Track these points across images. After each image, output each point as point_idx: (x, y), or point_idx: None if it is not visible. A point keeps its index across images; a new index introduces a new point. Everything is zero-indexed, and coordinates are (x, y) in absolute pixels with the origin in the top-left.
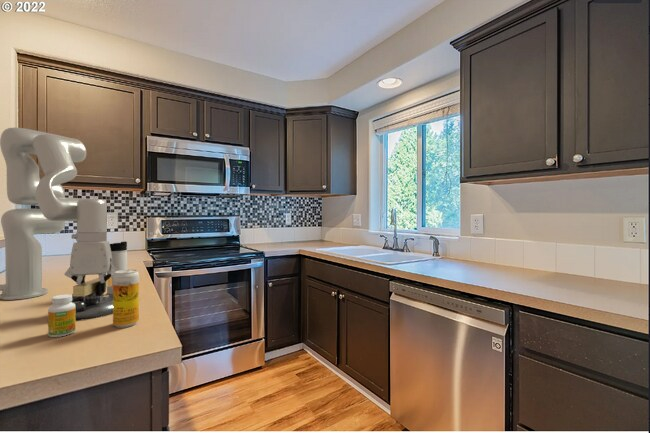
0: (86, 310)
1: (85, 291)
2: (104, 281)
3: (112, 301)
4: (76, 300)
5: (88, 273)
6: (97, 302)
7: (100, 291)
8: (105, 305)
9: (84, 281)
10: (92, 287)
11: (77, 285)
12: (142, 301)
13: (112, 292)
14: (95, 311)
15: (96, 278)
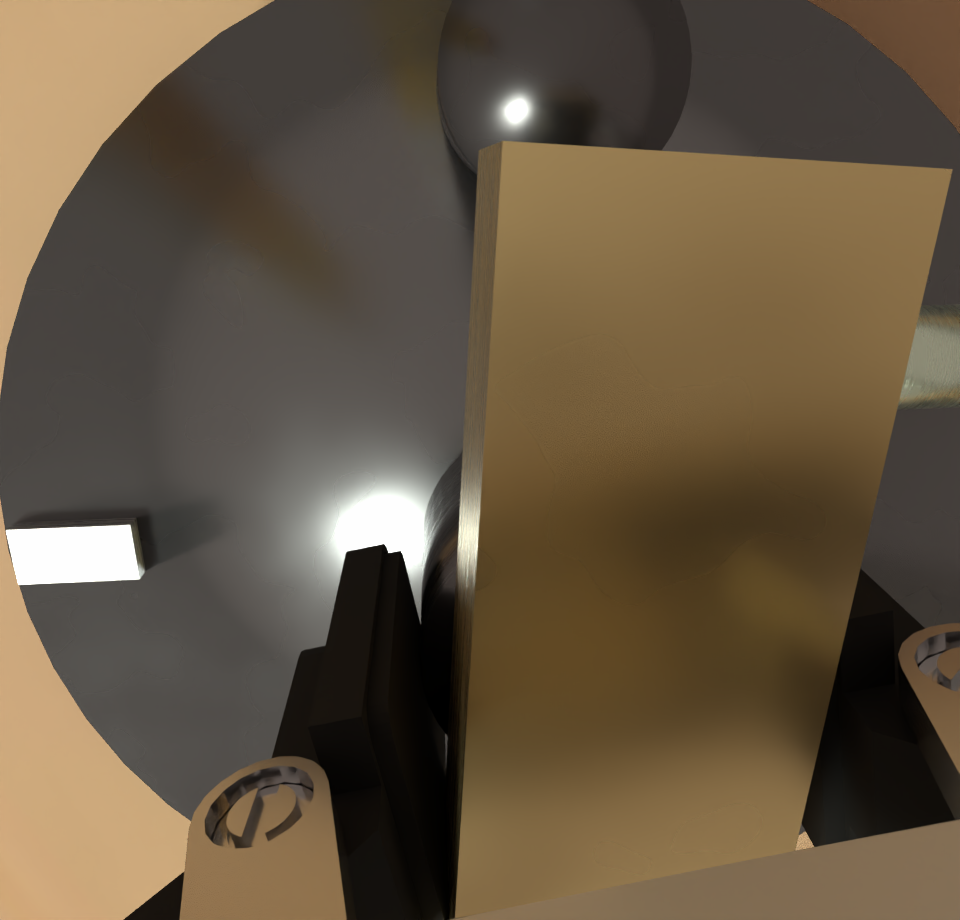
0: (406, 116)
1: (484, 195)
2: (196, 811)
3: (266, 640)
4: None
5: (722, 888)
6: (428, 504)
7: (338, 592)
8: (240, 418)
9: (872, 835)
10: (466, 536)
11: (854, 316)
12: (12, 844)
13: None
14: (201, 54)
15: None
